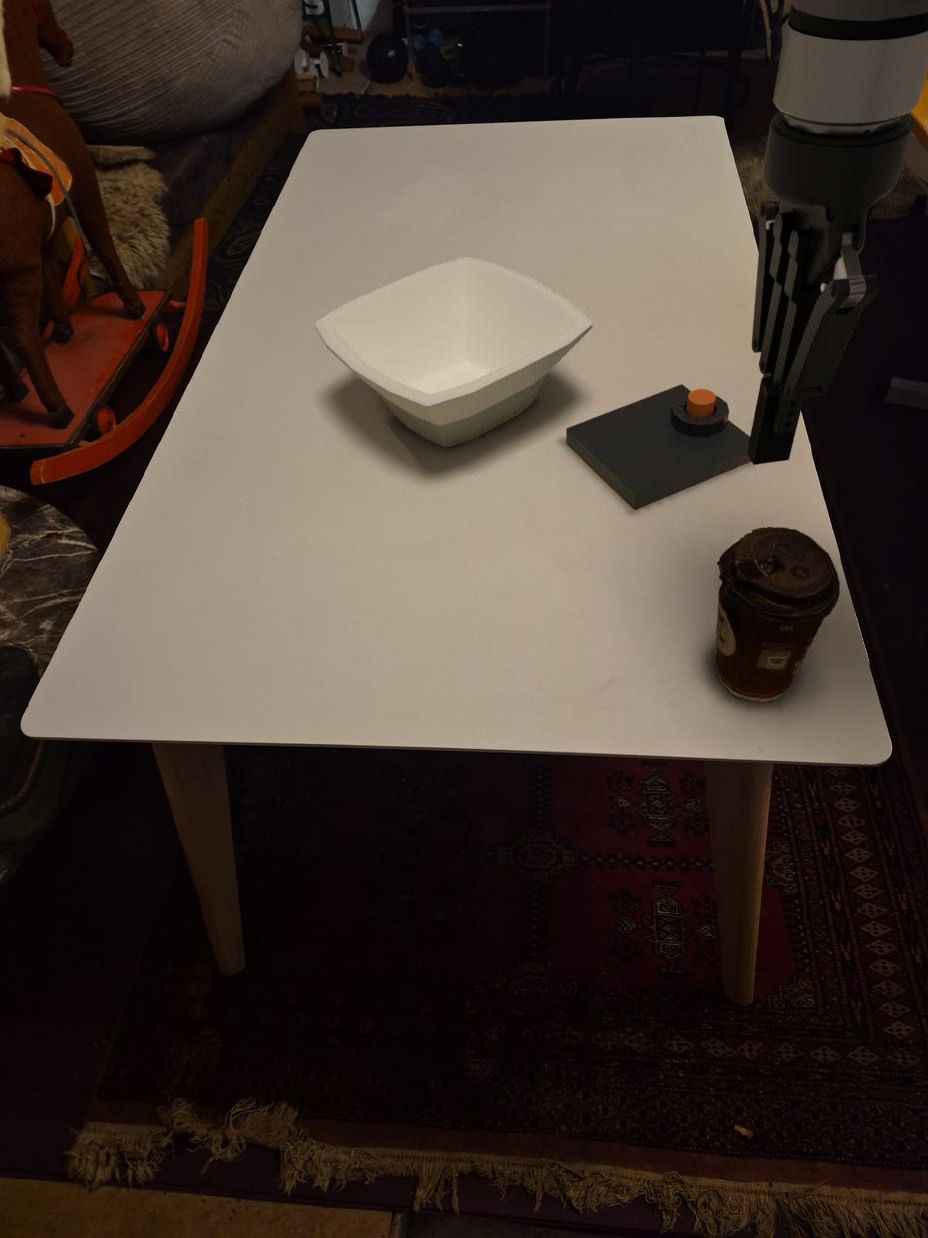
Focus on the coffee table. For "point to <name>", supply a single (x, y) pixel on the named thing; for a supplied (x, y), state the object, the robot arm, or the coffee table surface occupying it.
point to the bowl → (455, 345)
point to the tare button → (701, 403)
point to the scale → (659, 446)
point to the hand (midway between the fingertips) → (767, 456)
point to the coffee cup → (770, 609)
